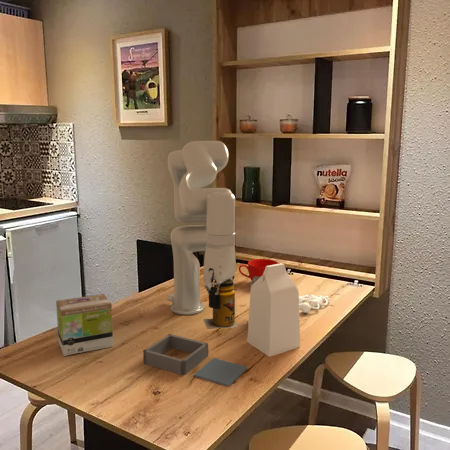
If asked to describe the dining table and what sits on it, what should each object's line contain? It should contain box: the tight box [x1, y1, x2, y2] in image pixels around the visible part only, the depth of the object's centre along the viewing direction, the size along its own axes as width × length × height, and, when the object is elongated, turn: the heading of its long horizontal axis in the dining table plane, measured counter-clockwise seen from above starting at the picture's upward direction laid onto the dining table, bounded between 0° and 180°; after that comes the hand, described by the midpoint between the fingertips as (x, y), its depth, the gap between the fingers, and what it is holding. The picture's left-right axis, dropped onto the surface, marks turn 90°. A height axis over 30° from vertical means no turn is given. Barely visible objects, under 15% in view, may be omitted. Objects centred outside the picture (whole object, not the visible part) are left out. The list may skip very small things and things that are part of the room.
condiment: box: [202, 279, 239, 330], centre depth 130 cm, size 7×8×12 cm
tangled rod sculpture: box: [299, 294, 331, 314], centre depth 185 cm, size 19×14×4 cm
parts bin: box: [142, 333, 209, 376], centre depth 141 cm, size 14×13×4 cm
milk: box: [247, 262, 301, 357], centre depth 149 cm, size 12×12×26 cm
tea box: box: [55, 293, 114, 357], centre depth 149 cm, size 15×10×15 cm, turn 118°
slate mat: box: [193, 357, 248, 387], centre depth 135 cm, size 11×11×1 cm
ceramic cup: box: [238, 258, 279, 282], centre depth 206 cm, size 13×17×10 cm
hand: (220, 303), depth 130 cm, fingers closed on condiment, 6 cm apart
